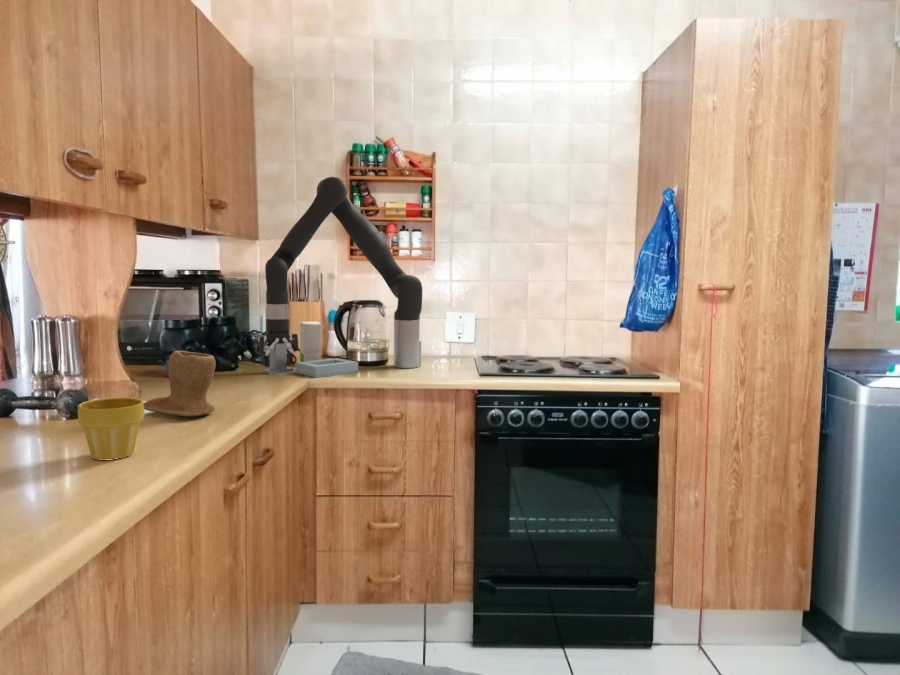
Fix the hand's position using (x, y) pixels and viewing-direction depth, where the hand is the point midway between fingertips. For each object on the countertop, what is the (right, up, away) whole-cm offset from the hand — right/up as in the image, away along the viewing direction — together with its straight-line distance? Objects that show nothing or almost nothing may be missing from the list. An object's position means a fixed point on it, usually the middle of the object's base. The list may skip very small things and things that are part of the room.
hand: (278, 365), depth 195 cm
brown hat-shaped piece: (-5, -9, -58) cm, 59 cm away
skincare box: (+7, -1, +19) cm, 20 cm away
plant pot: (-3, -12, -90) cm, 91 cm away
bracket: (0, -2, 0) cm, 2 cm away
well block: (+16, -2, +1) cm, 16 cm away
